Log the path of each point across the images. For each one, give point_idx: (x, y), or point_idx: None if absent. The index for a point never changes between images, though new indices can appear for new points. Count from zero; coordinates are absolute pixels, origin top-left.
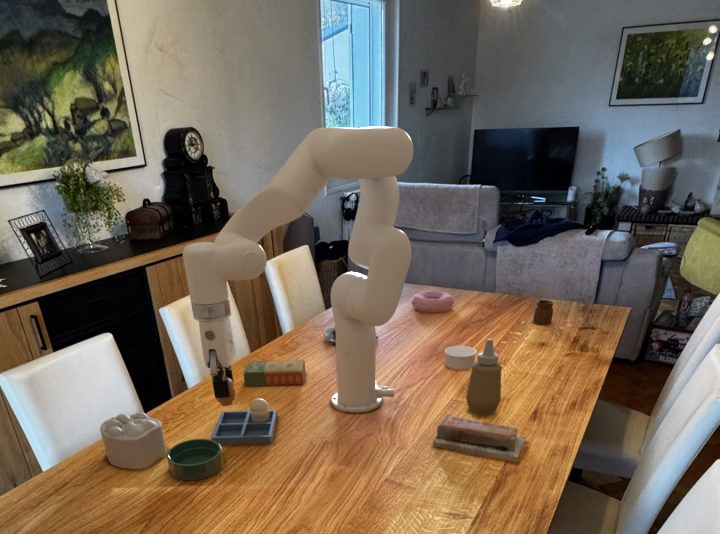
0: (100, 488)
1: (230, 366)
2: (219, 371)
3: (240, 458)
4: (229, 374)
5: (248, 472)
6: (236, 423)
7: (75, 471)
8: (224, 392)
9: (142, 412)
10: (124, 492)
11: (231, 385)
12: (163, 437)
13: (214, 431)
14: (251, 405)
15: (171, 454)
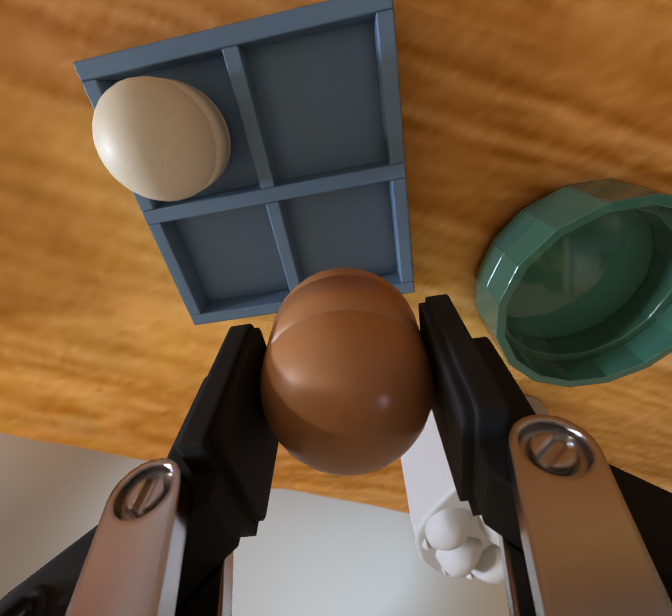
0: (616, 449)
1: (138, 486)
2: (249, 515)
3: (513, 130)
4: (235, 422)
5: (651, 42)
6: (279, 234)
7: None
8: (490, 346)
9: (445, 543)
10: (654, 402)
11: (373, 333)
12: None
13: None
14: (189, 185)
15: (569, 370)
